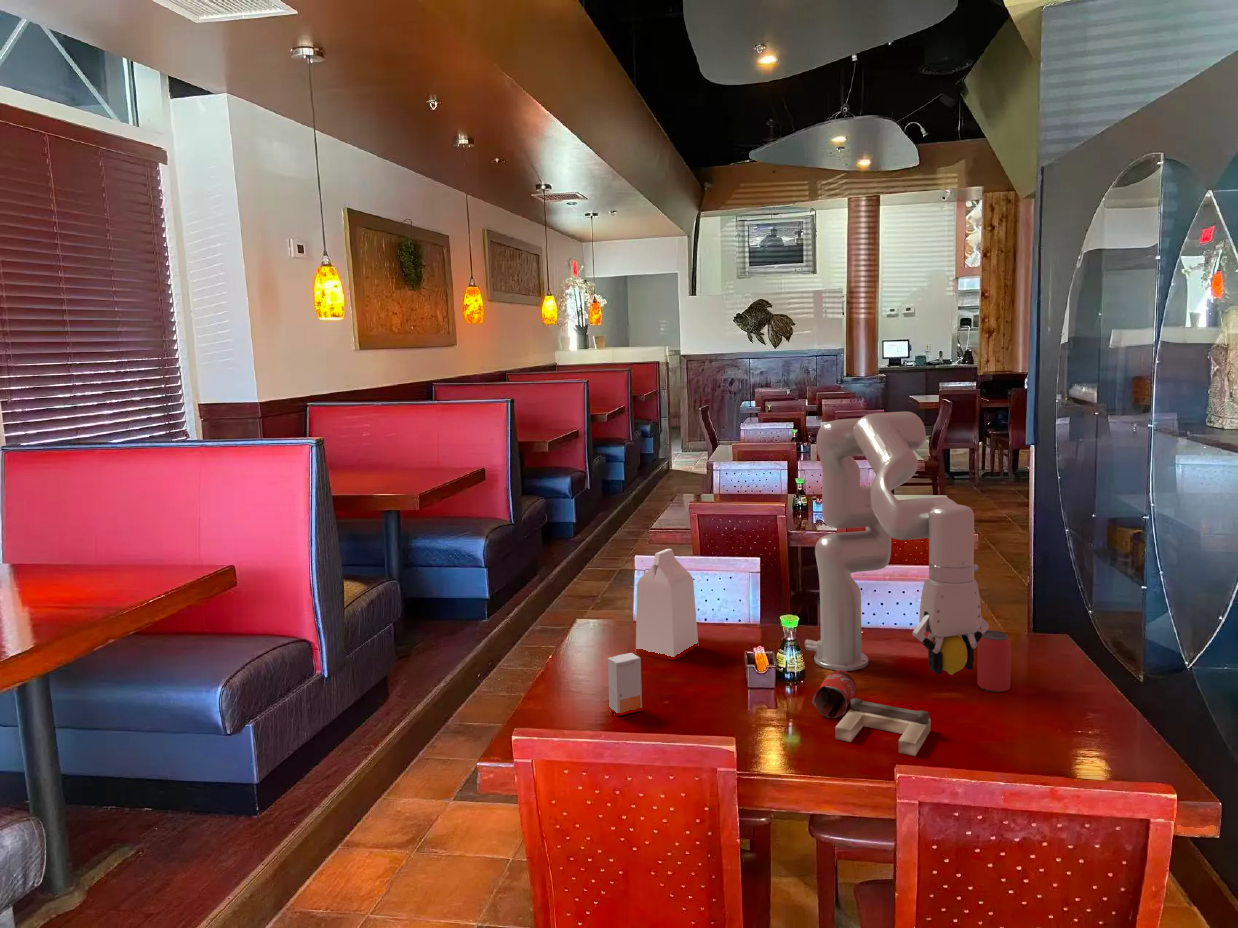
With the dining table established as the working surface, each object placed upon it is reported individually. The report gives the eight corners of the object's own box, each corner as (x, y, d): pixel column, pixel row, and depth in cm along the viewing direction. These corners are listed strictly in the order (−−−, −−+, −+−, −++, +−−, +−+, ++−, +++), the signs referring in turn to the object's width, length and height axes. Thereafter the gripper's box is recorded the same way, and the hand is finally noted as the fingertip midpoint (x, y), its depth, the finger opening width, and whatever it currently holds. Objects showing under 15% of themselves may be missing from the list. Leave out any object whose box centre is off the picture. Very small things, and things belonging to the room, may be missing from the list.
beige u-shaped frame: (834, 738, 161) (834, 718, 161) (854, 715, 171) (853, 695, 171) (915, 756, 153) (915, 734, 152) (931, 730, 163) (931, 710, 162)
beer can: (1013, 693, 178) (1014, 639, 177) (980, 692, 180) (981, 638, 178) (1005, 681, 185) (1006, 629, 183) (974, 680, 186) (974, 629, 185)
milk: (661, 639, 223) (657, 544, 220) (698, 646, 216) (695, 548, 213) (635, 653, 213) (631, 553, 210) (673, 661, 206) (670, 558, 203)
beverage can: (858, 699, 179) (858, 669, 179) (847, 721, 169) (846, 689, 168) (825, 694, 183) (825, 665, 182) (812, 715, 172) (811, 685, 171)
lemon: (940, 667, 156) (940, 625, 155) (971, 672, 153) (971, 630, 152) (930, 676, 152) (930, 633, 151) (962, 682, 149) (962, 639, 148)
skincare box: (618, 718, 175) (615, 663, 173) (609, 711, 178) (606, 657, 177) (643, 711, 177) (641, 657, 176) (633, 704, 181) (631, 651, 180)
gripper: (979, 564, 156) (978, 657, 158) (897, 573, 152) (897, 668, 154) (1006, 573, 148) (1005, 670, 151) (920, 583, 145) (920, 682, 147)
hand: (950, 668), depth 152 cm, fingers closed on lemon, 5 cm apart
